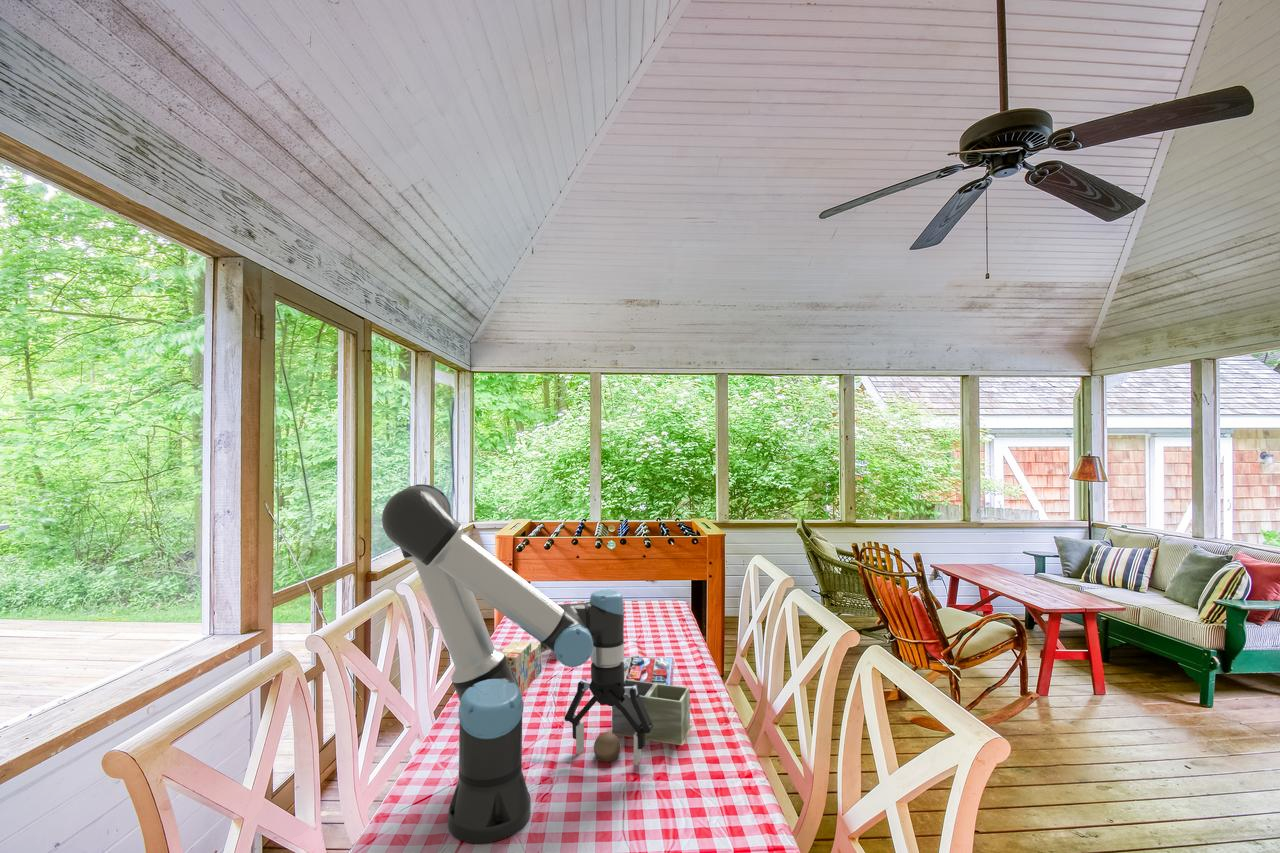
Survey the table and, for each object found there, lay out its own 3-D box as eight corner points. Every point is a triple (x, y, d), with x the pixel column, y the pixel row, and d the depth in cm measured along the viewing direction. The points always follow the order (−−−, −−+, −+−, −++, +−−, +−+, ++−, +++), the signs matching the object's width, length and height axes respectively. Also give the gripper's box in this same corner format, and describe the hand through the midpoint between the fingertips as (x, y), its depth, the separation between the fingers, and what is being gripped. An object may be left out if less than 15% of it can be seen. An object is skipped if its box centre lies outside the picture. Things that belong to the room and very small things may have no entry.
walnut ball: (615, 770, 123) (615, 742, 123) (589, 765, 125) (589, 738, 125) (624, 756, 129) (624, 729, 129) (599, 752, 131) (599, 725, 131)
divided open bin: (682, 749, 132) (682, 703, 132) (608, 737, 137) (609, 693, 138) (692, 729, 141) (692, 686, 142) (622, 719, 147) (622, 677, 147)
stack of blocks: (522, 671, 180) (523, 631, 180) (541, 672, 179) (542, 632, 179) (494, 700, 158) (494, 655, 159) (515, 701, 157) (516, 656, 158)
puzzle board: (605, 660, 190) (605, 652, 191) (674, 662, 189) (674, 654, 189) (590, 699, 160) (590, 689, 160) (671, 702, 158) (671, 692, 158)
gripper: (665, 661, 128) (666, 757, 127) (564, 650, 135) (564, 741, 134) (656, 674, 121) (657, 776, 120) (549, 661, 128) (550, 757, 127)
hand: (608, 758), depth 127 cm, fingers open, 13 cm apart
